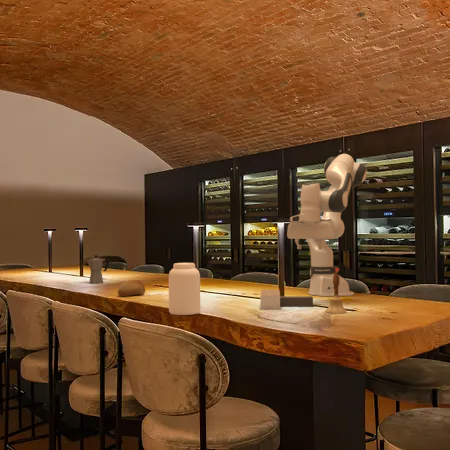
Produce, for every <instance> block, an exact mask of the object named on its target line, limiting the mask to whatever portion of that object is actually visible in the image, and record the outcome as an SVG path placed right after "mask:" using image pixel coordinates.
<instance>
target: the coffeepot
mask: <svg viewBox="0 0 450 450" xmlns="http://www.w3.org/2000/svg"><path fill="white" fill-rule="evenodd" d="M94 257H95V258H94ZM94 257H93V258H91V259H87V260H85V262H86V263H87V264H88V265H89V269H90V275H89V276H90V277H89V284H90V285H97V284H103V283H104V280H103V279H104V278H103V274H102V271H103V272H107V270H108V267H109V263H110V261H109V259H108V258H98V255H94ZM103 262H104V263H105V266H104V267H105V268H104V269H103Z"/></svg>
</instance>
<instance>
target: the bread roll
mask: <svg viewBox="0 0 450 450" xmlns="http://www.w3.org/2000/svg"><path fill="white" fill-rule="evenodd" d="M145 288H146V287H145V285H144V284H143V282H141V281H139V280H135V279H134V280H133V279H131V280H130V279H129V280H126V281H124V282H122V283H121V284H120V286H119V287H118V290H117V295H118V296H119V297H121V298H122V297H129V296H137V295H139V296H140V295H143V294H145V293H146V289H145Z"/></svg>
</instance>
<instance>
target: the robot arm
mask: <svg viewBox="0 0 450 450" xmlns="http://www.w3.org/2000/svg"><path fill="white" fill-rule="evenodd" d="M323 173H324V175H325V177H326V180H327V182H328V183H329V185H330V186H329V188H328V190H322V189H321V187H320V183H319V182H317V181H311V182H306V183H303V184H302V186H301V189H300V211H299V212H300V213H299V214H296V215H293V216H290V218H289V221H290V222H289V223H288V225H287V230H286V232H287V233H286V237H287V239H289V240H291V239H293V240H294V242H295V244H296V246H297V247H296V249H297V250H302V244H300V243H299V241H300V240H306V242H307V245H308V248H309V251H310V267H309V276H310V284H309V290H308V293H307V294H308V295H309V296H310V295H311V296H320V297H334V284H333V276H334V273H335V272H338V273H339V271H340V268H339V267H336V266H334V251H333V249H332V248H331V247H329V246H328V244H327V242H326V240H334V239H337V238H340V237H342V236H343V234H344V232H345V224H344V221H343V220H342V218H341V217H342V216H341V215H342V212H344V211H345V210H346V208H347V207H348V202H349V197H350V193H351V189H352V188H353V189H354V188H356V187H358V186H361V185H362V184H363V182H365V180H366V179H367V176H368V168H367V167H366V166H365V165H364V164H362V163H358V162H355V160H354V158H353V157H352V156H351V155H349V154H347V153H342V154H338V156H331V157H328V158H327V160H326V161H325V163H324V167H323ZM321 213H323V214H322V216H321ZM339 278H340V282H339V286H338V296H339V297H342V296H344V297H347V296H350V297H351V296H354V294H355V292H353V291H352V290H351V291H350V286H349V282H348V281H347V280H346V279H344V278H343V277H342V276H341V275H339Z"/></svg>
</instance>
